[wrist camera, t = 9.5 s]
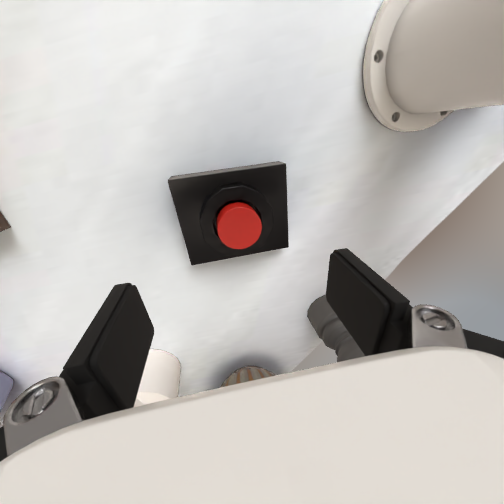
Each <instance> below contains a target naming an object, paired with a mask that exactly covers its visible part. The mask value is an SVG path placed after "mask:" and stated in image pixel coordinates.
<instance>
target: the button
mask: <svg viewBox="0 0 504 504" xmlns="http://www.w3.org/2000/svg"><path fill="white" fill-rule="evenodd" d="M216 224H217V231H218V236H219V238H220V240H221V241H222V242H223V243H224V244H225V245H226V246H228V247H230V248H233V249H244V248H247V247H249V246H251V245H253V244H254V243H255V242H256V241H257V240H258V238H259V237H260V234H261V231H262V224H261V220H260V218H259V216H258V215H257V213H256V212H255V210H254V209H253V208H252V207H251V206H249V205H248V204H245V203H242V202H234V203H231V204H228V205H226V206H225V207H224V208H223V209H222V210H221V211H220V212H219V214H218V217H217V223H216Z"/></svg>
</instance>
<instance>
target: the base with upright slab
mask: <svg viewBox="0 0 504 504" xmlns="http://www.w3.org/2000/svg"><path fill="white" fill-rule="evenodd" d="M180 372H181V366H180V362H179V360H178V359H177V358H176V357H175V356H174V355H173V354H171V353H168V352H166V351H163V350H158V349H150V350H149V353H148V357H147V361H146V364H145V368H144V371H143V375H142V379H141V382H140V386H139V389H138V393H137V397H136V400H135V404H134V407H138V406H142V405H146V404H150V403H154V402H158V401H163V400H167V399H172V398H176V397H178V392H179V382H180Z"/></svg>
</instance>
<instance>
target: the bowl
mask: <svg viewBox="0 0 504 504" xmlns="http://www.w3.org/2000/svg"><path fill="white" fill-rule="evenodd" d="M12 387H13V379H12V378H10V377H9V376H8V375H6V374H5V373H2V372H0V412H1V410H2V407H3V405H4V403H5V401H6V399H7V397H8V395H9V393H10V391H11V389H12Z"/></svg>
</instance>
